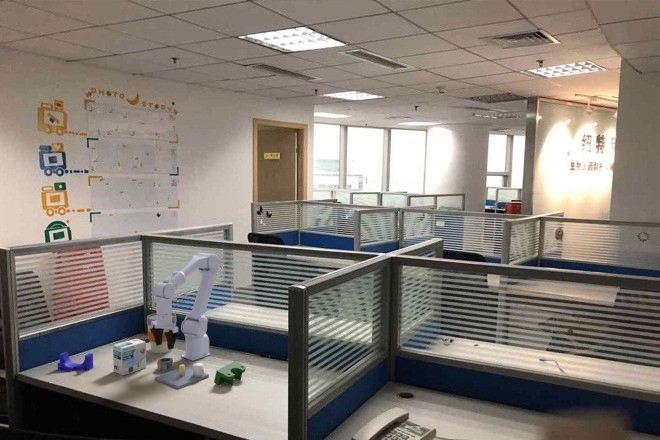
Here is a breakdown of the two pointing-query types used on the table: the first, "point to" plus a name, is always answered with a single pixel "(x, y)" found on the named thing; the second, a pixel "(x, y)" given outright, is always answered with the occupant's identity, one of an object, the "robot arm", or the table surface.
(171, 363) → the ring
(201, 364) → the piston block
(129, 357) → the light bulb box
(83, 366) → the cable clip
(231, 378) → the clamp
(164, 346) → the reusable coffee cup
